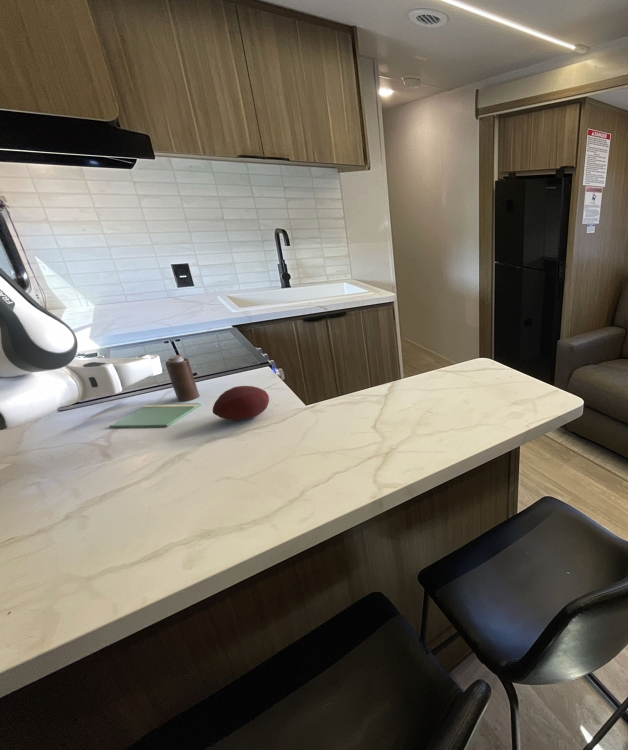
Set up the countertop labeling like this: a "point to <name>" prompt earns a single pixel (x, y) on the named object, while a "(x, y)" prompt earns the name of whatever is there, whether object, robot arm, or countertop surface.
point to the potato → (241, 403)
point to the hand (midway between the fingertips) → (127, 357)
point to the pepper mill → (182, 378)
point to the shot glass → (155, 365)
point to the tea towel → (156, 415)
